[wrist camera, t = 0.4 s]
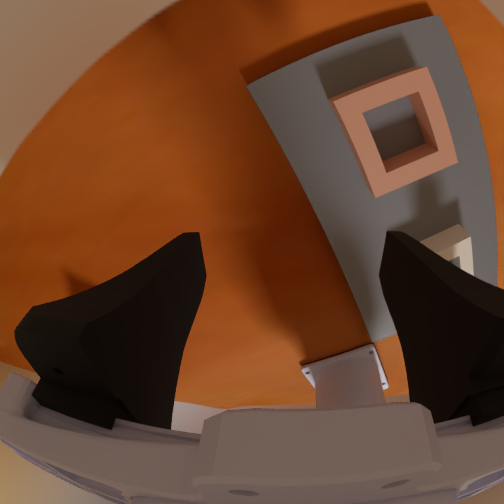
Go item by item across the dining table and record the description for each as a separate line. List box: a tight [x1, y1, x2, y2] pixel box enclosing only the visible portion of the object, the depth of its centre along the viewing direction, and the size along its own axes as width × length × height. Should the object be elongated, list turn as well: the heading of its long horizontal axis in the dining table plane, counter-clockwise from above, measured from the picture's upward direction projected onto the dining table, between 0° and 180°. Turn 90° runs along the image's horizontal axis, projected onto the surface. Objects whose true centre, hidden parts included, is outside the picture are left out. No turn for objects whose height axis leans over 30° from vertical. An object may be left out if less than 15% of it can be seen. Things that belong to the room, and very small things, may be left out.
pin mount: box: [420, 224, 474, 276], centre depth 20 cm, size 6×6×2 cm
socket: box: [328, 67, 458, 198], centre depth 15 cm, size 6×6×2 cm
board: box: [246, 15, 497, 343], centre depth 19 cm, size 24×14×1 cm, turn 30°
